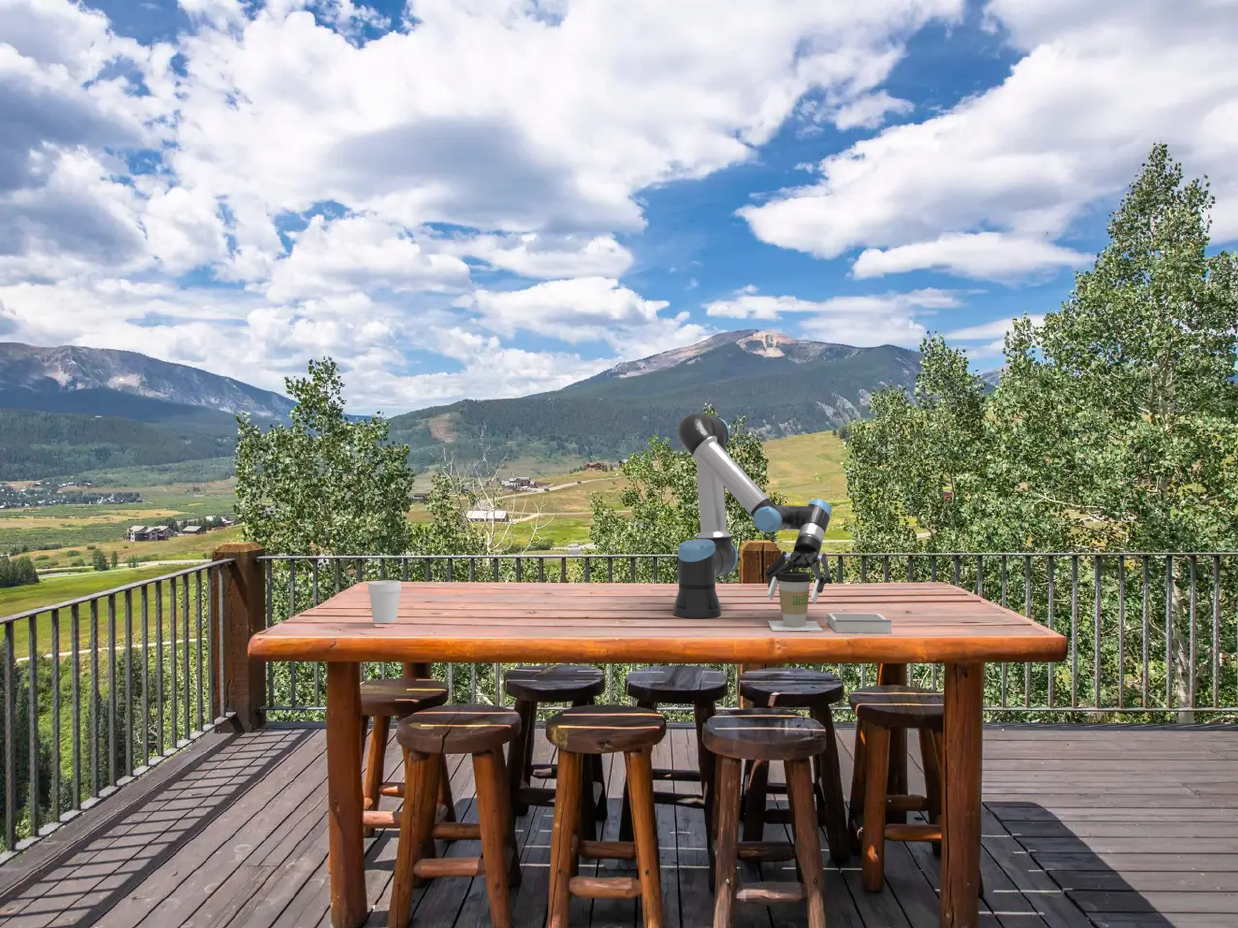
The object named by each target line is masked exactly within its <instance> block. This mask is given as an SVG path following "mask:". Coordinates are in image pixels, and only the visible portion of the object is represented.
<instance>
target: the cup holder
mask: <svg viewBox="0 0 1238 928" xmlns="http://www.w3.org/2000/svg"><path fill="white" fill-rule="evenodd" d="M826 619H827V624H828V625H829V627H830V628H832V630H833V631H834V632H835V633H837V634H838V633H840V634H841V633H842V634H843V633H847V634H852V633H853V634H892V619H888V618H886V617H885V616H883V615H882V614H880V613H879V612H878V613H877V612H876V613H875V612H874V613H873V612H872V613H871V612H869V613H867V612H864V613H863V612H862V613H861V612H827V613H826Z"/></svg>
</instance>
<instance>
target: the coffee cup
mask: <svg viewBox="0 0 1238 928" xmlns="http://www.w3.org/2000/svg"><path fill="white" fill-rule="evenodd" d="M777 581H778V594H779V603H780V608H781V610H780V612H781V614H782V615H781V617H782V621H783V624H784V625H785V626H789V627H803V626H805V623H806V621H807V614H808V606H809V597H810V591H811V590H810V583H811V581H812V578H811V576H810V573H809V572H806V571H797V570H795V571H794V570H791V571H785V572H780V573H779V576H778V577H777Z"/></svg>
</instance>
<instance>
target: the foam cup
mask: <svg viewBox="0 0 1238 928" xmlns="http://www.w3.org/2000/svg"><path fill="white" fill-rule="evenodd" d="M367 587H368V589H367V590H368V594H369V601H370V607H371V616H372V623H373V622H375V623H389V622H394V621H397V620H398V613H399V604H400V596H401V590H402V581H400V580H392V579H390V580H389V579H387V580H376V581H369V582H368V583H367Z"/></svg>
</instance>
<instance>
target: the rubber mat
mask: <svg viewBox="0 0 1238 928" xmlns="http://www.w3.org/2000/svg"><path fill="white" fill-rule="evenodd" d="M767 623H769V624H768V625H770V626H769V628H770V627H771V628H770V629H772V630H771V631H772V632H773V631H812V632H811V633H824V629H823V628H822V627H821V625H819V624H818V622H817V621H816V620H812V621H811V620H806V623H805V626H803V627H789V626H785V625H784V624H783V620H767Z"/></svg>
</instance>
